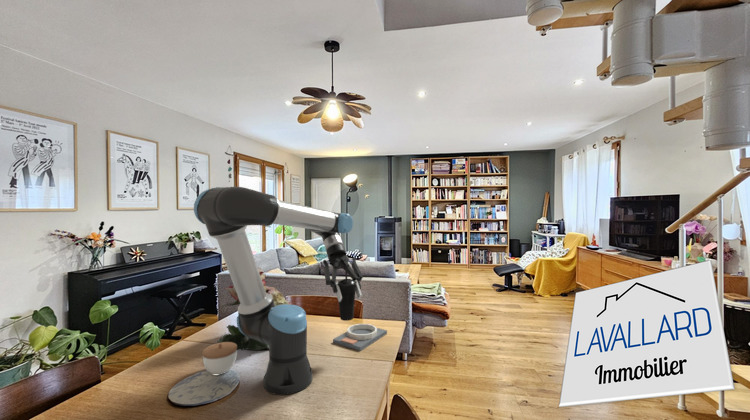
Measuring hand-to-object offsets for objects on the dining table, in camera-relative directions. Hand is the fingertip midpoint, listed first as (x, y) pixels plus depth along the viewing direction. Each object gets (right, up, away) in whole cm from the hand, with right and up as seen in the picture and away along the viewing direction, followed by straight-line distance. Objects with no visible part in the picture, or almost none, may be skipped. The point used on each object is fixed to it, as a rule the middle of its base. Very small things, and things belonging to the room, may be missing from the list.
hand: (350, 298), depth 118 cm
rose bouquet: (-41, -23, +21) cm, 51 cm away
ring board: (+3, -22, +19) cm, 30 cm away
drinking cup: (-2, -9, +3) cm, 9 cm away
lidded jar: (-44, -23, -7) cm, 50 cm away
